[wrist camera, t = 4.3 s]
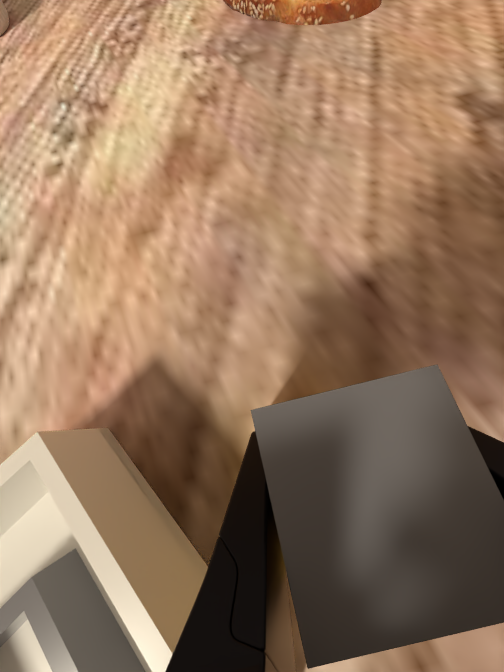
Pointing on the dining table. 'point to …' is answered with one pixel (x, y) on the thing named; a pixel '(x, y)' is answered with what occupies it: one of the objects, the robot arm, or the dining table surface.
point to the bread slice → (304, 10)
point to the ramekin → (3, 18)
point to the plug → (382, 515)
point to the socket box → (88, 560)
